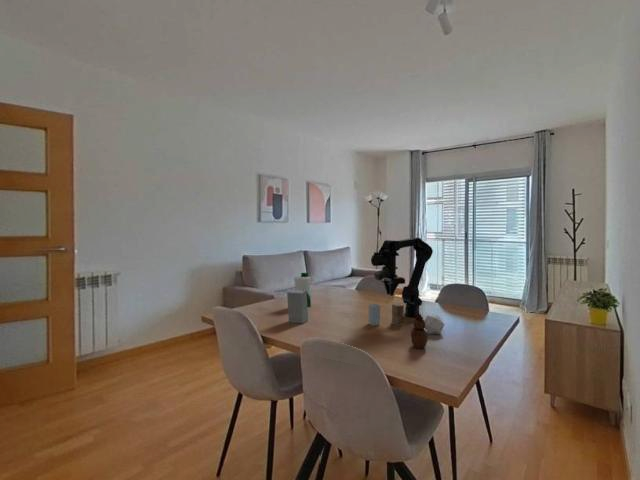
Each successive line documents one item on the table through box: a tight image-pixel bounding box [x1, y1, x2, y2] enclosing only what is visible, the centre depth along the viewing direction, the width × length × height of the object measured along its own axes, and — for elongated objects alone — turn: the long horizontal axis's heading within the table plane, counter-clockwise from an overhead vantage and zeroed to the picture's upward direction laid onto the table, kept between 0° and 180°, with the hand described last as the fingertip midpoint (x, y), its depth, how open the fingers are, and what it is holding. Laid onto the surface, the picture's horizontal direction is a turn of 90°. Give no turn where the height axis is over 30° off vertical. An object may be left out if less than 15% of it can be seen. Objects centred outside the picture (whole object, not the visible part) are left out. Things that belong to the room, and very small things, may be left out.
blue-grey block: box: [368, 303, 381, 327], centre depth 169 cm, size 4×4×10 cm
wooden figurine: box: [410, 309, 428, 349], centre depth 137 cm, size 7×6×15 cm
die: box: [424, 315, 445, 335], centre depth 155 cm, size 8×9×10 cm
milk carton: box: [293, 272, 312, 308], centre depth 205 cm, size 9×9×20 cm
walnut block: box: [391, 303, 405, 326], centre depth 169 cm, size 4×4×10 cm
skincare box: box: [286, 289, 309, 324], centre depth 174 cm, size 8×7×16 cm
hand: (389, 295), depth 175 cm, fingers open, 3 cm apart
